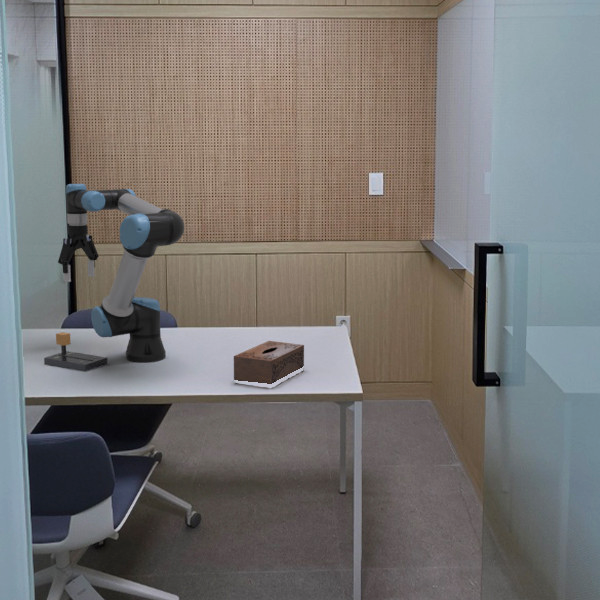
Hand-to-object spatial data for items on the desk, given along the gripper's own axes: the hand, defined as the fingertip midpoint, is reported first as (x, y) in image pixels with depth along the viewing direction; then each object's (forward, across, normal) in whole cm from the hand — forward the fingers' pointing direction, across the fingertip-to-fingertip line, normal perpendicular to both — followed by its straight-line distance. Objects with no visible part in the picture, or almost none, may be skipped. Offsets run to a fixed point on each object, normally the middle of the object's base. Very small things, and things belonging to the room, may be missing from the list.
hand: (79, 279), depth 349 cm
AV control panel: (+29, +17, +12) cm, 35 cm away
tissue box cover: (+29, -3, +83) cm, 88 cm away
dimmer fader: (+26, +17, +6) cm, 31 cm away
